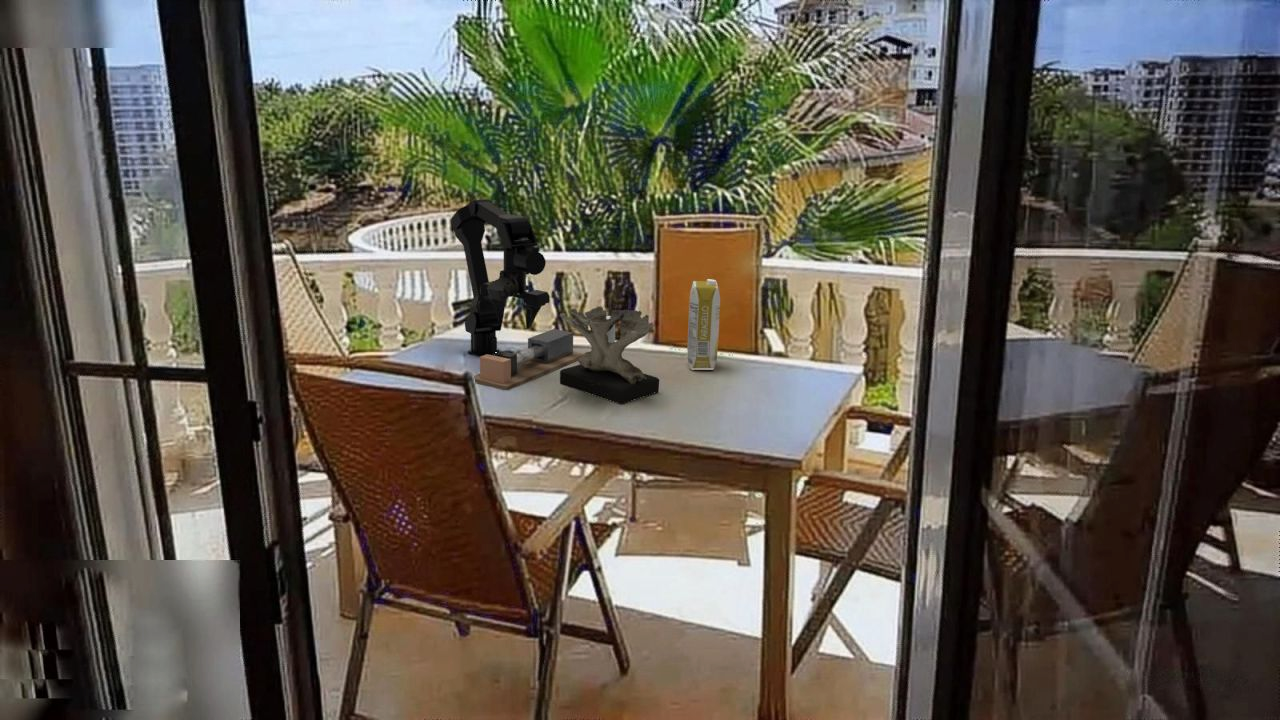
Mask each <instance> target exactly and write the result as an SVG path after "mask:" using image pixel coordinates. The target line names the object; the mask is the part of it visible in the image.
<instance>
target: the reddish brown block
mask: <svg viewBox="0 0 1280 720" xmlns="http://www.w3.org/2000/svg"><path fill="white" fill-rule="evenodd" d="M479 374H480V378H483V379H487V380H491V381H496V382H500V383H506V382H508V381H510V380H511V359H507V358H503V357H498V356H494V354H492V355H489V354H486V355H484V356H479Z"/></svg>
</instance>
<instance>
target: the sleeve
mask: <svg viewBox="0 0 1280 720" xmlns="http://www.w3.org/2000/svg"><path fill="white" fill-rule="evenodd" d="M539 344H540V345H544V356H541V357H538V358H536V359H533V360H531V361H535V362H539V363H544V364H549V363H552V362H554V361H557V360H559V359H562V358H564V357H566V356H569V355H571V354H573V351H574V332H572V331H568V330H567V331H566V330H561V329H556V328H553V329H550V330H547V331H545V332H541V333H539V334H536V335H533V336H531V337H528V338H527V349H528V348H531V347H533V346H536V345H539Z"/></svg>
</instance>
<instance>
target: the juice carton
mask: <svg viewBox="0 0 1280 720" xmlns="http://www.w3.org/2000/svg"><path fill="white" fill-rule="evenodd" d="M689 293H690V294H689V302H688V305H689V306H688V307H689V309H688V325H687V326H688V327H687V328H688V329H687V346H686V347H687V348H686V349H687V361H688V367H689V370H690V369H692V368H714V367H716V363H717V360H718V351H719V350H718V347H719V329H720V313H721V310H720V309H721V296H720V294H721V293H720V289H719V285H718V282H717V280H716V279H712V278H711V279H710V278H708V279H706V280H693V281H692V285H691V287H690V292H689ZM714 369H715V368H714Z"/></svg>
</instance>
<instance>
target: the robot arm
mask: <svg viewBox="0 0 1280 720" xmlns="http://www.w3.org/2000/svg"><path fill="white" fill-rule="evenodd" d="M450 221H451V222H450V224H451V228H452V230H453V233H454V235H455V236H454V237H455V238H456V239H457V240H458V241H459V242H460V243H461V245H462V246H463V250H464V254H465V255H464V256H465V261H466V266H467V271H468V276H469V281H470V286H471V290H472V297H473V298H472V301H471V303H470V305H469V316H468V317H467V319H466V320H465V322H464V330H465V332H466V333H469V334H470V349H469V350H467V354H471V355H475V356H479V357H481V356H484V355H486V354H489V355H490V354H492V355H494V354H493V353H495V352H500V351H501V350H500V349H498V338H497V335H496V334H497V331H498V332H501V331H502V328H503V327H502V326H503V319H504V316H505V309H506V300H507V298H509V297H510V298H511V297H512V298H516V299H517V298H518V299H523V302H524V304H523V305H522V307H523V308H524V310H525V327H526V330H529V329H531V328H532V325H533V323H534V322H535V319H536V318H537V315H538V313H539V311H540V310H541V308H542V307H543V306H546V304H549V303H550V301H551V297H550V294H549V293H548V291H544V290H540V289H539V290H538V289H535V290H531V291H528V290H530V285H528V284H527V275H529V274H530V275H533V276H537V275H539V274H541V273H542V272H543V271H544V270H545V267H546V264H547V262H546V259H545V255H543V253H541V252H540V247H538V242H537V237H536V234H535V232H534V230H533V227H532V224H531V222H530V220H529V219H528V218H527V217H526V216H522V215H517V214H511V213H508V212H506V211H505V210H503V209H502V208H500V207H498V206H497V205H494V204H493V203H491V201H490V200H489V199H487V198H481V199H473V200H470V201H469V202H468V203H467V204H466V205H464V206H463V207H461V208H459V209H458V210H456V211H455V213H454V214H453V215H452V217H451V220H450ZM487 223H488V224H489V225H491V227H493V228H495V229H496V230H497V231H496V232H497V233H496V234H497V235H498V236H499V237H500V239H501V240H502V241H501V242H500V243H499V247H502V248H503V269H502V270H499V277H498V278H497V279H495V280H489V275H488V271H487V266H486V261H485V256H484V251H483V245H482V240H483V238H484V234H485V231H486V230H485V229H486V228H485V225H487Z"/></svg>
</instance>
